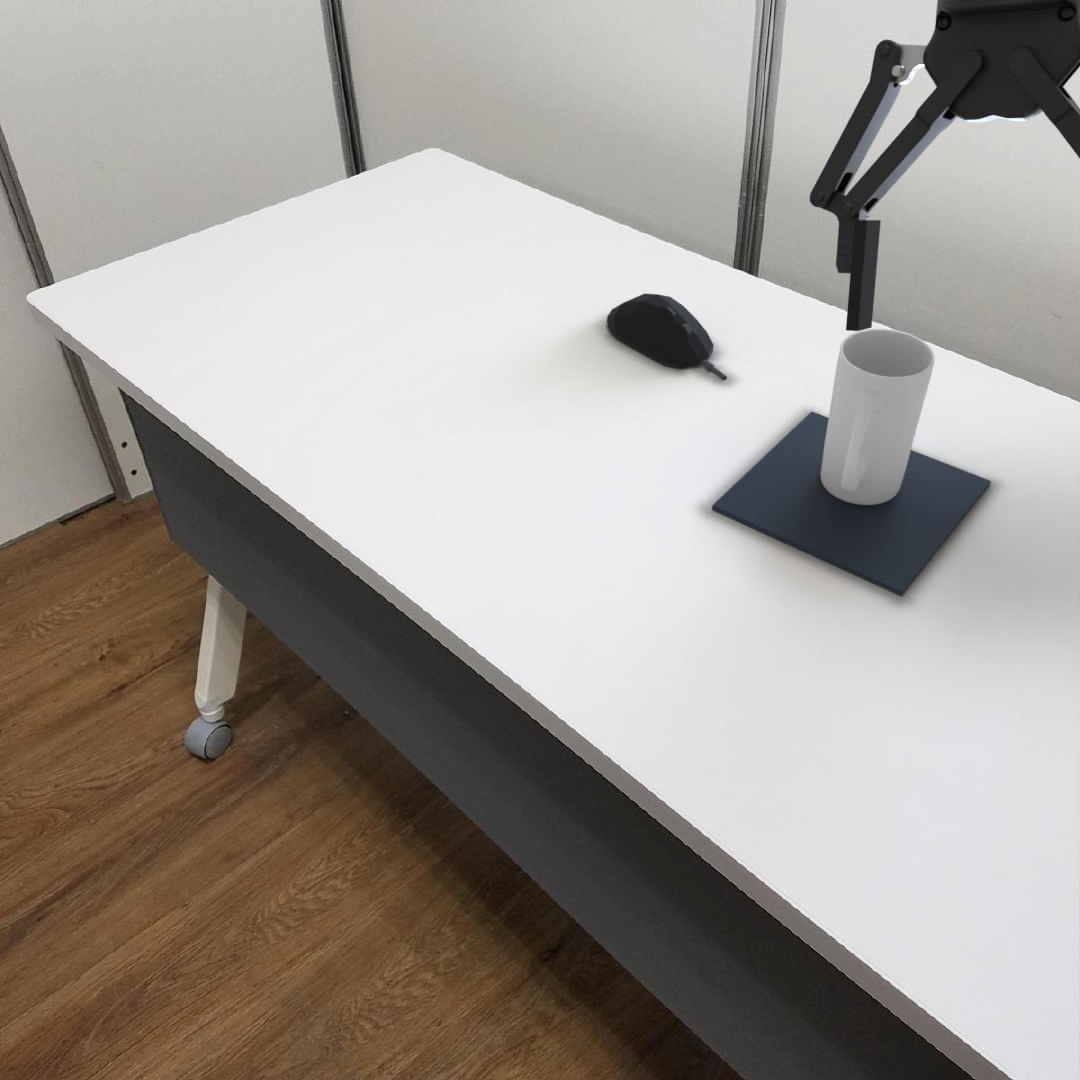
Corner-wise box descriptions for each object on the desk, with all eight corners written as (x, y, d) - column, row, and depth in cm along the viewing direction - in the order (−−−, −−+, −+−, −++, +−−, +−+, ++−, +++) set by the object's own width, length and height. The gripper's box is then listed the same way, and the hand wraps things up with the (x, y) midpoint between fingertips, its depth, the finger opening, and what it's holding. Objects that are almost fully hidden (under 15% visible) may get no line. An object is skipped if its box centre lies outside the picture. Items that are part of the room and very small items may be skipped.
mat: (989, 485, 91) (991, 480, 90) (901, 596, 81) (902, 591, 81) (810, 415, 98) (811, 410, 98) (711, 510, 89) (712, 505, 89)
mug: (831, 447, 94) (854, 320, 86) (912, 468, 92) (944, 340, 84) (793, 518, 87) (814, 387, 79) (879, 543, 85) (911, 411, 77)
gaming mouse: (700, 392, 101) (703, 354, 99) (593, 326, 110) (594, 289, 108) (750, 367, 104) (754, 329, 101) (642, 305, 113) (644, 268, 110)
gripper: (1292, -79, 57) (1219, 343, 63) (816, -27, 70) (793, 319, 76) (1291, -113, 51) (1211, 357, 57) (770, -50, 64) (749, 328, 70)
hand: (972, 336), depth 67 cm, fingers open, 13 cm apart
